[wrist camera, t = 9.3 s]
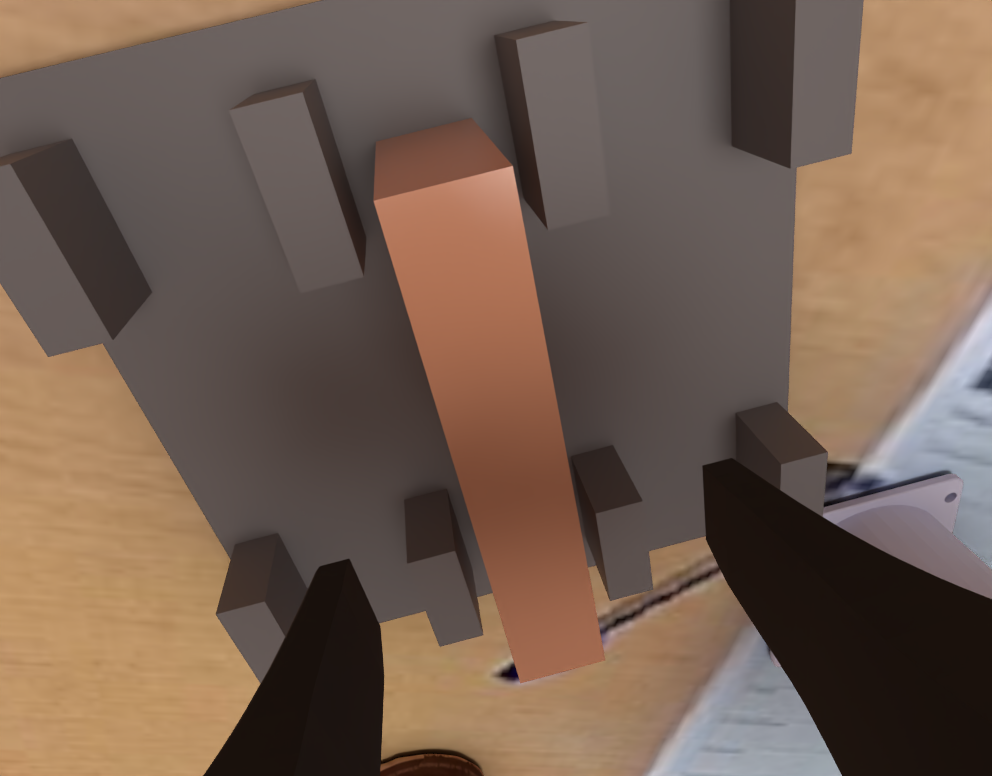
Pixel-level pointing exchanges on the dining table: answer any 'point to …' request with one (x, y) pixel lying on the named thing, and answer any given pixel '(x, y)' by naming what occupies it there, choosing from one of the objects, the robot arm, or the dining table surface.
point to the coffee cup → (430, 766)
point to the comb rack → (373, 282)
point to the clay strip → (491, 381)
